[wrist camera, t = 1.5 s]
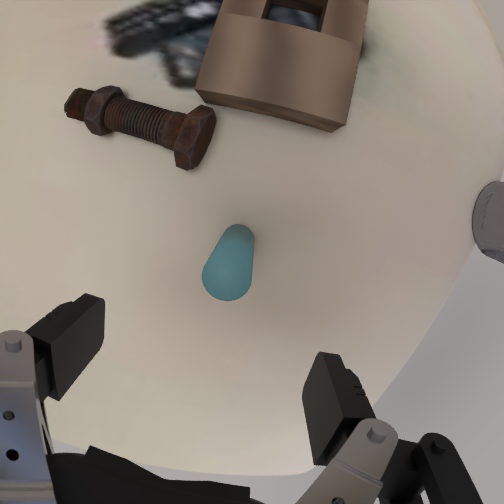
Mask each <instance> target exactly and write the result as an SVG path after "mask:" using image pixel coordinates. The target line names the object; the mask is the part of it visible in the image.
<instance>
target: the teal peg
mask: <svg viewBox="0 0 504 504" xmlns="http://www.w3.org/2000/svg"><path fill="white" fill-rule="evenodd" d="M253 251H254V236H253V233H252V231H251V230H250V229H249V228H248V227H246V226H244V225H240V224H236V225H232V226H230V227H229V228H227V229H226V230H225V232H224V234H223V235H222V237H221V239H220V240H219V242H218V244H217V245H216V247H215V249H214V251H213V252H212V254H211V256H210V257H209V259H208V261H207V262H206V264H205V266H204V268H203V271H202V282H203V285H204V287H205V289H206V290H207V291H208V293H209V294H210V295H212V296H213V297H215V298H217V299H219V300H223V301H232V300H236V299H238V298H240V297H242V296H243V295H244V294H245V293H246V292H247V291H248V289H249V287H250V285H251V281H252V266H253Z"/></svg>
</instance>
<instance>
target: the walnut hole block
mask: <svg viewBox="0 0 504 504" xmlns="http://www.w3.org/2000/svg"><path fill="white" fill-rule="evenodd" d="M368 2H369V0H224V1H223V3H222V6H221V9H220V11H219V14H218V17H217V20H216V23H215V26H214V28H213V31H212V34H211V37H210V40H209V43H208V46H207V49H206V53H205V56H204V59H203V62H202V65H201V69H200V72H199V75H198V79H197V82H196V86H195V90H196V92H197V93H198V94H199V95H200V97H201V98H202V99H203V101H204V102H205V103H209V104H215V105H220V106H226V107H231V108H236V109H241V110H246V111H250V112H255V113H259V114H264V115H268V116H272V117H276V118H280V119H284V120H288V121H292V122H296V123H300V124H303V125H307V126H310V127H314V128H317V129H321V130H324V131H328V132H331V133H332V132H333V131H335V130H337V129H339V128H341V127H342V126H344V125H346V121H347V117H348V112H349V107H350V103H351V98H352V93H353V88H354V83H355V78H356V73H357V68H358V62H359V57H360V51H361V46H362V40H363V34H364V28H365V22H366V16H367V9H368ZM272 4H275V5H280V6H284V7H289V8H293V9H297V10H302V11H306V12H309V13H313V14H317V15H320V20H319V24H318V28H317V31H313V30H310V29H306V28H302V27H298V26H294V25H290V24H285V23H281V22H276V21H271V20H267V18H268V15H269V11H270V8H271V5H272Z"/></svg>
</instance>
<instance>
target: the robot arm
mask: <svg viewBox="0 0 504 504" xmlns="http://www.w3.org/2000/svg"><path fill="white" fill-rule="evenodd" d="M473 234H474V237H475V241H476V243H477V246H478V248H479V249H480V250H481V252H482V253H483V254H485V255H486V256H488V257H491V258H493V259H495V260H497V261H499V262H501V263H504V182H493V183H491V184H489V185H488V186H486V187H485V188H484V189H483V191H482V192H481V193H480V195H479V197H478V199H477V202H476V205H475V208H474V214H473ZM104 322H105V301H104V299H102V298H99V297H96V296H93V295H90V294H87V293H85V294H83V295H82V296H81V297H79V298H78V299H77V300H76V301H74V302H72V301H70V302H67V303H64V304H61V305H59V306H58V307H56V308H55V309H54V310H52V312H50V313H48V314H47V315H46V316H45V317H43V318H42V319H41V320H39V321H38V322H37V323H36V324H34V325H33V326H32V327H30V328H29V329H28V330H27V331H25V332H22V331H18V330H9V331H5V332H2V333H0V504H264V503H262V502H259V501H257V500H255V499H252V498H250V487H244V486H237V485H230V484H223V483H218V482H212V481H183V480H182V481H181V480H167V479H163V478H161V477H159V476H157V475H155V474H153V473H151V472H149V471H147V470H145V469H144V468H141V467H140V466H138V465H136V464H134V463H133V462H131V461H129V460H127V459H125V458H122V457H119V456H117V455H114V454H111V453H108V452H106V451H103V450H101V449H98V448H96V447H93V446H91V445H90V446H89V448H88V450H87V452H86V454H85V455H84V454H79V453H54V449H53V445H52V441H51V436H50V431H49V426H48V421H47V415H46V409H45V404H44V400H45V399H46V397H47V396H49V397H51V398H53V399H55V400H57V401H60V399H61V398H62V397H63V396H64V394H65V393H66V392H67V390H68V389H69V388H70V386H71V385H72V384H73V383H74V381H75V380H76V379H77V377H78V376H79V375H80V374H81V372H82V371H83V370H84V369H85V367H86V366H87V365H88V364H89V362H90V361H91V360H92V359H93V357H94V356H95V355H96V354H97V352H98V351H99V350H100V348H101V346H102V343H103V340H104ZM365 395H366V394H365V392H364V389H362V385H361V383H360V381H359V378H358V377H357V376H356V375H355V374H354V373H353V372H352V371H351V370H350V369H345V366H344V364H343V362H342V359H341V357H340V355H338V354H332V353H326V352H319V353H318V354H317V356H316V358H315V360H314V363H313V365H312V368H311V370H310V372H309V375H308V377H307V380H306V382H305V384H304V388H303V393H302V401H303V406H304V412H305V417H306V423H307V428H308V434H309V440H310V445H311V451H312V457H313V463H314V465H322V466H323V465H324V466H326V468H325V469H324V470H323V472H322V473H321V474H320V475H319V477H318V478H317V479H316V480H315V481H314V483H313V484H312V485H311V486H310V487H309V489H308V490H307V491H306V492H305V493H304V494H303V496H302V497H301V498H300V499H299V500H298V501H297V502H296V503H295V504H374V502H375V500H376V498H377V497H378V498H379V501H380V504H423V500H422V498H421V495H420V494H421V493H422V492H423V491H424V490H425V491H426V493H427V496H428V499H429V502H430V504H483V502H482V500H481V498H480V496H479V494H478V492H477V490H476V488H475V486H474V484H473V482H472V480H471V478H470V476H469V474H468V472H467V470H466V468H465V466H464V464H463V462H462V460H461V458H460V456H459V454H458V452H457V451H456V449H455V447H454V445H453V443H452V442H451V441H450V440H449V439H447V438H446V437H445V436H443V435H440V434H438V433H427V434H425V435H424V436H423V437H422V438H421V440H420V441H419V442H418V443H415V442H410V441H405V440H401V439H398V435H397V432H396V431H395V429H394V428H393V427H392V426H391V425H389V424H387V423H386V422H384V421H382V420H379V419H376V416H375V414H374V412H373V409H372V407H371V405H370V403H369V400H368V398H367V396H365Z"/></svg>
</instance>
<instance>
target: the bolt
mask: <svg viewBox="0 0 504 504" xmlns="http://www.w3.org/2000/svg"><path fill="white" fill-rule="evenodd" d="M64 111H65V113H66V112H67V113H66V115H67V117H69V118H73V119H77V120H80V121H84V122H85V124H86V126H87V128H88V129H89V130H90V132H91V133H92V134H95V135H99V136H103V135H106V134H108V133H110V132H112V131H113V130H114V131H118V132H122V133H125V134H128V135H131V136H134V137H138V138H141V139H144V140H147V141H150V142H153V143H156V144H159V145H161V146H163V147H164V148H167V149H170V150H173V151H174V156H175V162H176V167H179V168H182V169H184V170H187V171H188V170H190V169H193V168H195V167H196V166H197V165H198V164H199V163H200V161H201V159H202V158H203V156H204V154H205V152H206V150H207V148H208V145H209V143H210V141H211V138H212V135H213V132H214V127H215V123H216V116H215V113H214V110H213V108H210V107H207V106H204V105H200V106H198V107H197V108H195V109H194V110H192V111H191V112H189V113H188V114H184V113H180V112H173V111H170V110H166V109H163V108H159V107H156V106H153V105H149V104H146V103H141V102H138V101H134V100H129V99H126V98H125V96H124V94H123V92H122V90H121V89H120V87H115V86H106V87H102V88H100V89H98V90H96V91H92V90H87V89H83V88H78V89H75V90H74V91H73V92H72V94H71V95H70V97H69V98H68V100H67V101H66V103H65V104H64Z"/></svg>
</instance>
